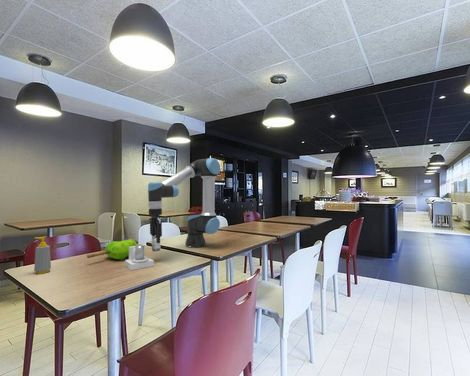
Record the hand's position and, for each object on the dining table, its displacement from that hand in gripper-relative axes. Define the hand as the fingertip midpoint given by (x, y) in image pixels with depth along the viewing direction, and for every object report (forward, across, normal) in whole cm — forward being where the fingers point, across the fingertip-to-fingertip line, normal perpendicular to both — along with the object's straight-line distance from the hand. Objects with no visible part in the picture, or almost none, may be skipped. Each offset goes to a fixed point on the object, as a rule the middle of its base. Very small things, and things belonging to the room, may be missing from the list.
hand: (156, 247), depth 154 cm
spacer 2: (+2, 0, 0) cm, 2 cm away
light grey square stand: (+7, +5, -12) cm, 15 cm away
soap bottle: (+6, -15, -54) cm, 56 cm away
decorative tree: (+7, -19, -19) cm, 28 cm away
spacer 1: (+3, +6, -12) cm, 14 cm away
